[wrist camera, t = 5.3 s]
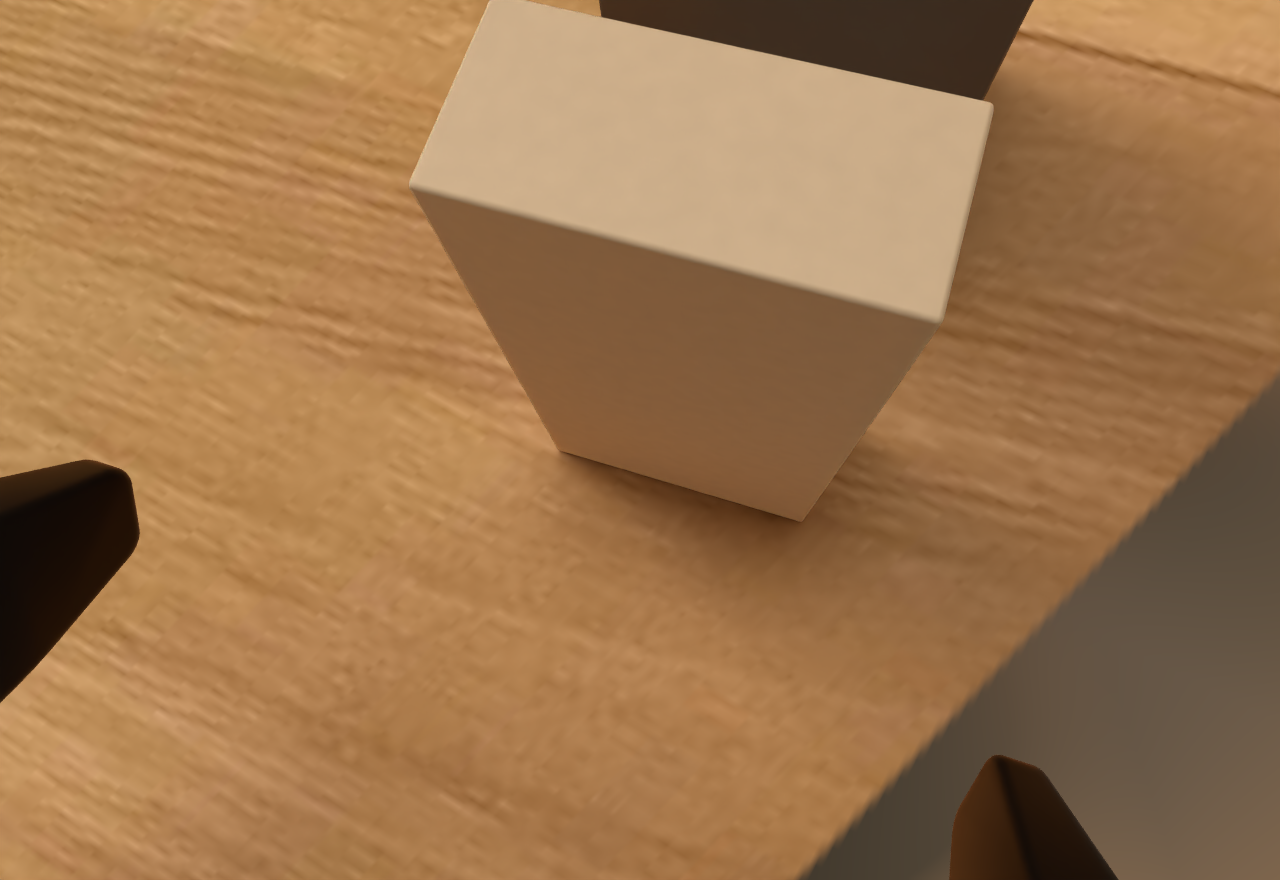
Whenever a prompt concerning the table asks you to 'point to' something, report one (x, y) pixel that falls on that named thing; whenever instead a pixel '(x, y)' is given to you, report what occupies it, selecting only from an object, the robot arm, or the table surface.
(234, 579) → the table surface
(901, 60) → the grey books
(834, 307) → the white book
